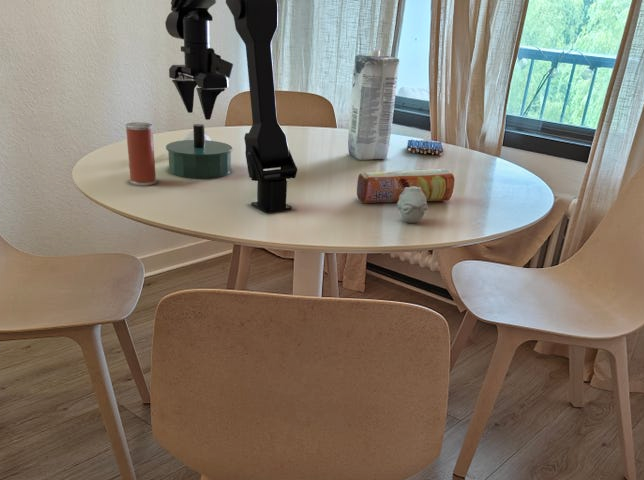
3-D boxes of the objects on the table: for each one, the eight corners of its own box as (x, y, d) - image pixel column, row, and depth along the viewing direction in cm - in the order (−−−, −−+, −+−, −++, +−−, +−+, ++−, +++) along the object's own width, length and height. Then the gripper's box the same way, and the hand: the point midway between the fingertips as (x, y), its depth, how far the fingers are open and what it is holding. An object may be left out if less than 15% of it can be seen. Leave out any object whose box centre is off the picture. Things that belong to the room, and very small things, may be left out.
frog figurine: (419, 216, 135) (423, 183, 132) (429, 227, 129) (435, 192, 126) (391, 216, 134) (395, 182, 131) (400, 227, 128) (405, 192, 125)
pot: (241, 174, 157) (241, 153, 154) (185, 181, 149) (184, 158, 147) (212, 161, 167) (212, 140, 164) (159, 166, 159) (158, 144, 157)
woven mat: (443, 155, 186) (444, 148, 185) (406, 152, 188) (407, 145, 187) (442, 148, 195) (443, 141, 194) (407, 145, 197) (407, 138, 196)
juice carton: (391, 160, 179) (404, 53, 166) (357, 161, 176) (367, 52, 162) (376, 152, 186) (387, 49, 173) (343, 153, 183) (352, 48, 169)
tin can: (160, 184, 146) (156, 126, 140) (136, 186, 143) (131, 128, 137) (150, 177, 150) (146, 121, 144) (126, 180, 147) (121, 123, 141)
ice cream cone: (178, 160, 165) (203, 158, 178) (196, 147, 162) (220, 146, 176) (165, 139, 164) (191, 139, 178) (183, 125, 162) (208, 126, 175)
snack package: (363, 206, 140) (367, 174, 136) (354, 197, 145) (356, 167, 142) (452, 203, 145) (457, 173, 141) (440, 195, 150) (444, 166, 147)
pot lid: (244, 155, 154) (244, 129, 151) (183, 161, 146) (182, 133, 143) (213, 142, 165) (213, 117, 162) (155, 147, 157) (154, 120, 154)
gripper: (249, 46, 141) (248, 121, 149) (209, 38, 154) (211, 107, 162) (203, 46, 136) (205, 124, 144) (166, 38, 149) (170, 109, 157)
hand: (198, 116), depth 152 cm, fingers open, 9 cm apart
